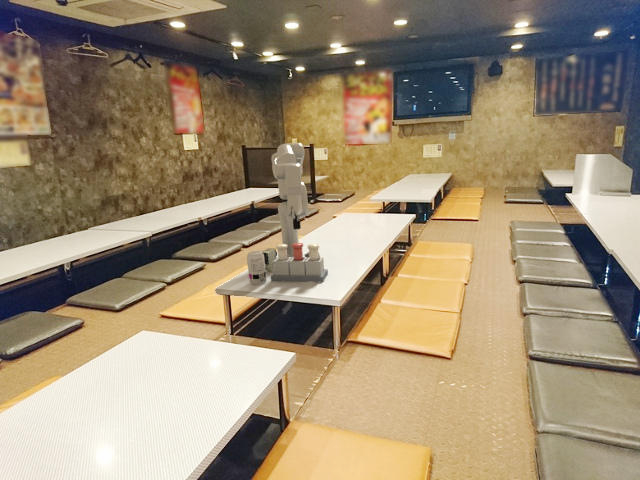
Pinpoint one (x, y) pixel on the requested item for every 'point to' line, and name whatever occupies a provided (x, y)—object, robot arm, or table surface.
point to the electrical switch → (309, 255)
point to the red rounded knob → (297, 251)
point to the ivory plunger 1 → (282, 252)
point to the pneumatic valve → (269, 258)
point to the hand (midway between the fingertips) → (297, 228)
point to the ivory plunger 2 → (313, 252)
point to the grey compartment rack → (299, 270)
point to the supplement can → (256, 268)
